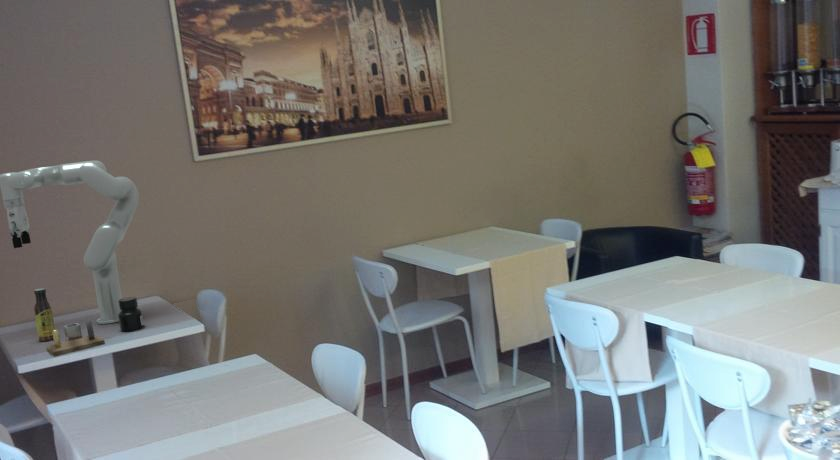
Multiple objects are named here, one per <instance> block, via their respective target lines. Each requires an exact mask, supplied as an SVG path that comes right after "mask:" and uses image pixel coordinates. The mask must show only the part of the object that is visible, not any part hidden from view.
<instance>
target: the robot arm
mask: <svg viewBox="0 0 840 460" xmlns="http://www.w3.org/2000/svg"><path fill="white" fill-rule="evenodd" d="M79 184H86V185H87V186H89V187H91V189H93V190H95V191H96V192H98V193H99V194H101V196H102V195H103V196H104V197H105V198H107V199H108V200H112V201H115V203H114V206H113V207H112V208H111V211H110V213H109V215H108V216H107V217H108V218H106V221H105V222H104V223H103V224H101V225H100V226H99V227H97V229H96V230H95V232H94V234H93V236H92V238H91V240H90V243H89V245H88V247H87V249H86V251H85V253H84V255H83V263H84V266H85V268H86V269H87V270H88V271H91V272H92V275H93V276H92V277H93V283H94V290H95V295H96V299H97V305H98V311H99V317H98V318H97V319H96V322H97V324H98V325H99V324H100V325H106V324H107V325H108V324H113V323H119V318H118V314H119V313H120V311H121V310H120V308H119V302H118V301H119V300H120V299H123V297H122V296H123V295H122V291H121V285H120V278H119V272H118V261H117V254H116V251H115V249H116V247H117V246H118V244H120V242H122V241H123V239H124V237H125V236H126V233H127V231H128V229H129V226H130V224H131V222H132V220H133V217H134V215H135V213H136V211H137V209H138V204H139V200H140V199H139V198H140V197H139V190H138V188H137V186H136V184H135V183H134V182H133V181H132V179H130V178H128V177H126V176H117V177H115V176H113V175H112V174H110V173H109V172H107V167H106V166H105V164H104V163H103V162H102V161H100V160H97V159H96V160H87V161H85V160H84V161H79V162H78V161H77V162H71V163H62V164H57V165H52V166H42V167H35V168H29V169H26V170H22V171H18V172H17V171H16V172H15V171H13V172H12V171H11V172H5V173H4V172H3V173H0V192H1V197H2V202H3V207H4V209H5V210H6V216H7V224H8V228H9V233H10V235H11V236H10V238H11V241H12V246H13V249H18V248H19V249H20V248H23V245H26V244H28V245H29V244H31V242H32V241H31V237H30V231H29V229H30V227H31V225H30V221H29V216H28V213H27V210H26V207H25V206H26V204H25V199H24V198H25V197H24V193H23V190H32V189H34V188H38V187H45V186H52V185H63V186H71V185H79Z"/></svg>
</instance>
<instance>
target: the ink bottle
mask: <svg viewBox="0 0 840 460" xmlns="http://www.w3.org/2000/svg"><path fill="white" fill-rule="evenodd" d="M118 302H119V308H120V310H121V311H120V313H119V314H118V318H119V322H118V323H119V329H120V331H121V332H126V333H127V332H133V331H137V330H141V329H143V328H144V327H145V322H144V315H143V311H142V309H139V303H138V299H137V296H128V297H127V296H126V297H124V298H123V297H122V299H120V300H119V301H118Z"/></svg>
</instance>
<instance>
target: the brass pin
mask: <svg viewBox="0 0 840 460" xmlns="http://www.w3.org/2000/svg"><path fill="white" fill-rule="evenodd" d="M52 333H53V338H54V339H53V343H54V344H55V348H60V347H61V343H62V342H61V339H60V334H59V333H60V332H59V329H57V328H55V330H52ZM54 344H53V345H54Z"/></svg>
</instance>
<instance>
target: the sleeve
mask: <svg viewBox="0 0 840 460" xmlns="http://www.w3.org/2000/svg"><path fill="white" fill-rule="evenodd" d="M62 327H63V331H64V336H65V342H67V341H71V340H75V339H79V338H83V333H82V327H81V324H80V323H78V322H74V323H70V324H65V325H63V326H62Z"/></svg>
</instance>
